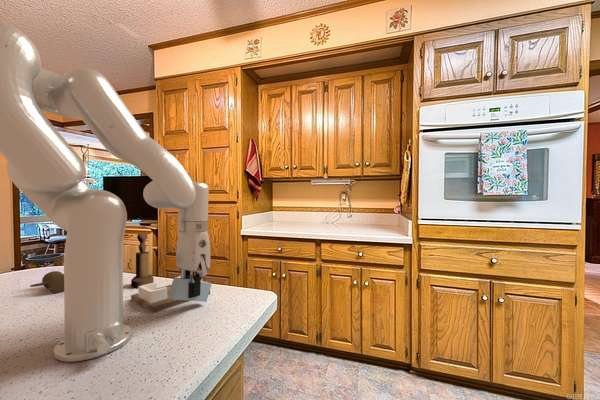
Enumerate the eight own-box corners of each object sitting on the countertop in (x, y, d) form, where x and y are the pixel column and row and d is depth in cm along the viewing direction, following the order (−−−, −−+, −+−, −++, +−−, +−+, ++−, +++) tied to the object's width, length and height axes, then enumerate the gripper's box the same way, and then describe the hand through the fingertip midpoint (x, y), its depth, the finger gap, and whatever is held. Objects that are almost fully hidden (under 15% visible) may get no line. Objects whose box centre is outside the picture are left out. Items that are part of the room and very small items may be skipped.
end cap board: (210, 294, 83) (210, 289, 83) (153, 312, 69) (153, 307, 69) (186, 285, 91) (186, 280, 91) (131, 300, 78) (131, 295, 78)
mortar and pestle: (147, 280, 96) (147, 230, 96) (157, 284, 92) (157, 232, 92) (127, 285, 91) (127, 232, 90) (136, 289, 87) (136, 234, 87)
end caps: (202, 287, 84) (202, 278, 84) (150, 303, 72) (150, 292, 72) (189, 283, 89) (189, 274, 89) (138, 296, 77) (138, 286, 76)
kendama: (111, 283, 95) (33, 299, 79) (100, 279, 101) (25, 293, 84) (111, 266, 95) (34, 278, 79) (100, 263, 101) (25, 274, 84)
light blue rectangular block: (206, 301, 74) (211, 283, 76) (173, 299, 67) (180, 279, 68) (200, 299, 76) (205, 281, 78) (167, 296, 69) (174, 277, 70)
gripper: (222, 228, 71) (220, 298, 70) (189, 225, 81) (187, 286, 80) (197, 230, 65) (194, 306, 64) (164, 226, 75) (162, 292, 74)
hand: (190, 294), depth 72 cm, fingers closed on light blue rectangular block, 2 cm apart
